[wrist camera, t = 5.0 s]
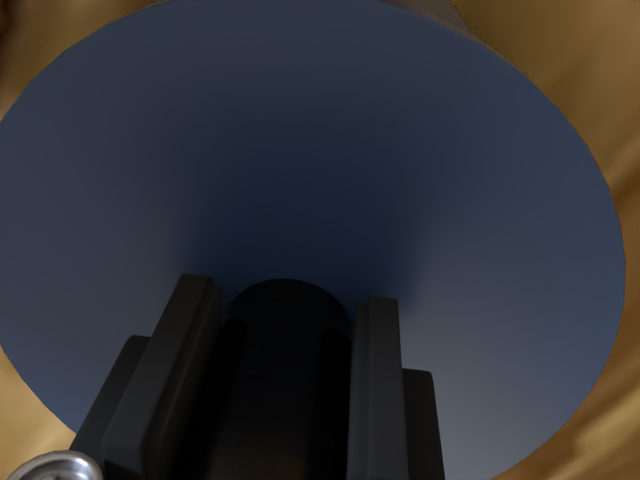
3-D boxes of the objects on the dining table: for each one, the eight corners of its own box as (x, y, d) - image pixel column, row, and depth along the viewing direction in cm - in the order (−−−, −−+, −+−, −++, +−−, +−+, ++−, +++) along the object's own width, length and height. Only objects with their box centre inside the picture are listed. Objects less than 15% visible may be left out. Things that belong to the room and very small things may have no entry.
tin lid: (51, 447, 16) (-106, 727, 11) (-68, -68, 10) (-641, 2, 4) (508, 505, 16) (577, 817, 11) (722, 23, 9) (1202, 218, 4)
